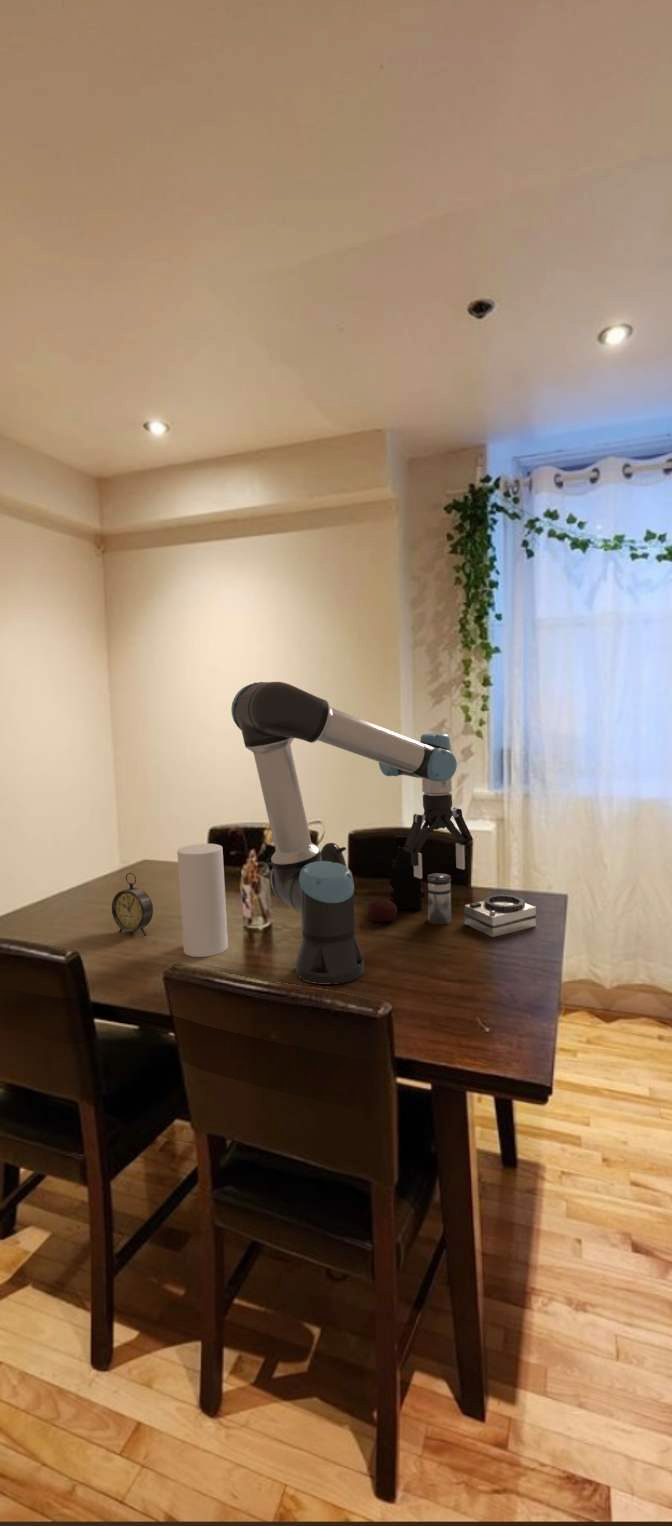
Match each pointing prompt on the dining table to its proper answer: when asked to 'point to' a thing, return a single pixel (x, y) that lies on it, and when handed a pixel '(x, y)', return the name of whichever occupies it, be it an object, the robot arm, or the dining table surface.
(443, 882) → the lens
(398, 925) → the dining table surface
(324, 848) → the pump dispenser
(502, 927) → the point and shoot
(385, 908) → the potato
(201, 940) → the tall pillar cylinder
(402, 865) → the camera
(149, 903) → the alarm clock
